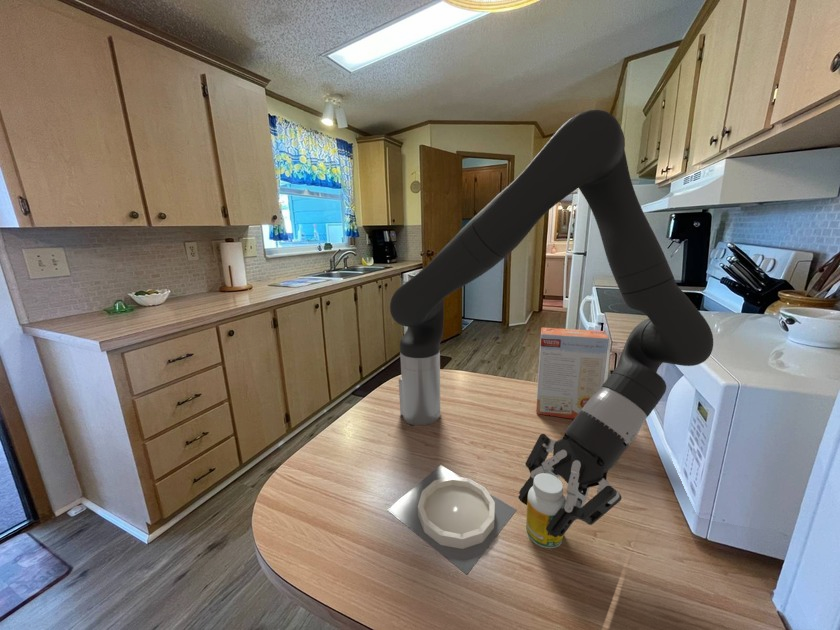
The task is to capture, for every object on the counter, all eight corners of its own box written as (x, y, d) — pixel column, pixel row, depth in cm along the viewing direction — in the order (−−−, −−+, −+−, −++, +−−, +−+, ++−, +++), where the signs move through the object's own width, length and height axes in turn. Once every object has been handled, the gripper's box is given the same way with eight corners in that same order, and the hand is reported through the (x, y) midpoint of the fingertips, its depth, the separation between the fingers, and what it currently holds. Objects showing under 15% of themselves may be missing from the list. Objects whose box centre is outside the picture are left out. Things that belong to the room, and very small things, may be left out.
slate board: (387, 512, 56) (386, 509, 56) (440, 467, 66) (440, 465, 66) (466, 577, 46) (466, 574, 45) (516, 512, 55) (516, 509, 55)
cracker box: (595, 410, 84) (605, 330, 78) (599, 423, 78) (610, 338, 73) (535, 402, 88) (541, 325, 83) (535, 414, 83) (541, 333, 77)
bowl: (404, 516, 55) (403, 507, 54) (449, 475, 63) (449, 467, 63) (465, 564, 47) (465, 554, 46) (508, 510, 55) (508, 501, 55)
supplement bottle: (540, 514, 55) (544, 464, 52) (570, 538, 51) (576, 485, 48) (517, 531, 52) (521, 479, 50) (547, 558, 48) (552, 503, 45)
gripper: (557, 392, 55) (493, 475, 54) (641, 442, 43) (560, 552, 42) (578, 413, 59) (518, 491, 58) (662, 466, 46) (587, 568, 45)
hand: (536, 516), depth 50 cm, fingers closed on supplement bottle, 5 cm apart
